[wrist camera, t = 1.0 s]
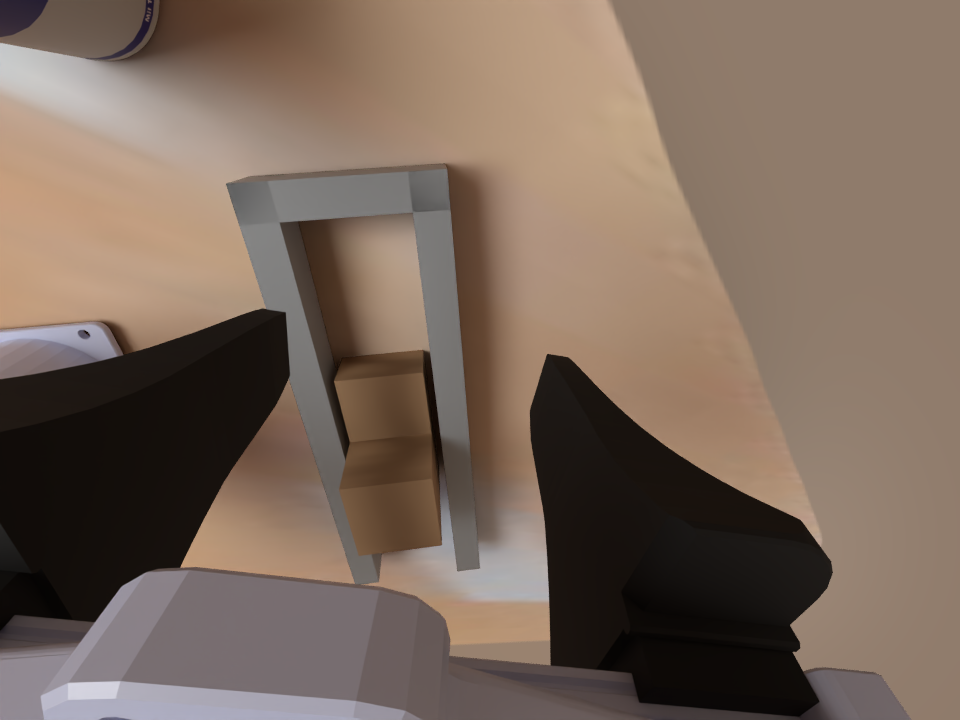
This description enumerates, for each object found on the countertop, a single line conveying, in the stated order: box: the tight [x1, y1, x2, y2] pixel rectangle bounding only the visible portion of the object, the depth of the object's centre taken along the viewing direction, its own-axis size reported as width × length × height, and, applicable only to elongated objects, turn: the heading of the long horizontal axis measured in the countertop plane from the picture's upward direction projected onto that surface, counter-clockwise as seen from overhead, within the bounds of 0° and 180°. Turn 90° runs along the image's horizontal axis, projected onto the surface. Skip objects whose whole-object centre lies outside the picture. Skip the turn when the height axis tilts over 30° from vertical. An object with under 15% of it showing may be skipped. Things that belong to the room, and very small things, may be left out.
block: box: [334, 350, 442, 556], centre depth 24 cm, size 4×9×6 cm, turn 3°
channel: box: [226, 164, 480, 585], centre depth 25 cm, size 9×26×2 cm, turn 3°
